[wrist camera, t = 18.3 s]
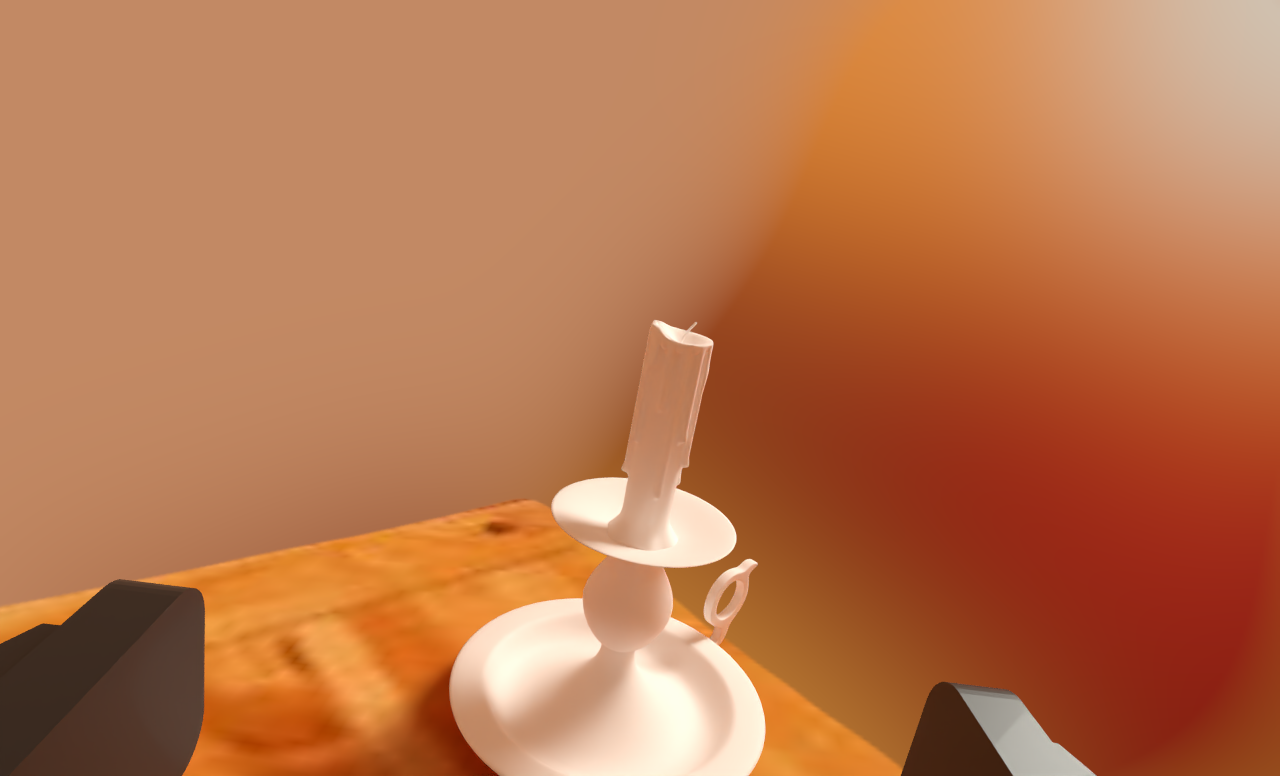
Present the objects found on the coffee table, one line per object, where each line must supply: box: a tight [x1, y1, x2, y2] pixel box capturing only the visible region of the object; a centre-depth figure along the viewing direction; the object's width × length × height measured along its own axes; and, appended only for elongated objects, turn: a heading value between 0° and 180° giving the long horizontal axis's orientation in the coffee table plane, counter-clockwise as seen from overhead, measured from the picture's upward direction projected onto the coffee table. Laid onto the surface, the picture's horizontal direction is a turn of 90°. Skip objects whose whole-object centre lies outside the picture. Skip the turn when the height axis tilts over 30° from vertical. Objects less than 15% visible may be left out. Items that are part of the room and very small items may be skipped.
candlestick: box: [449, 320, 765, 776], centre depth 48 cm, size 21×25×28 cm
